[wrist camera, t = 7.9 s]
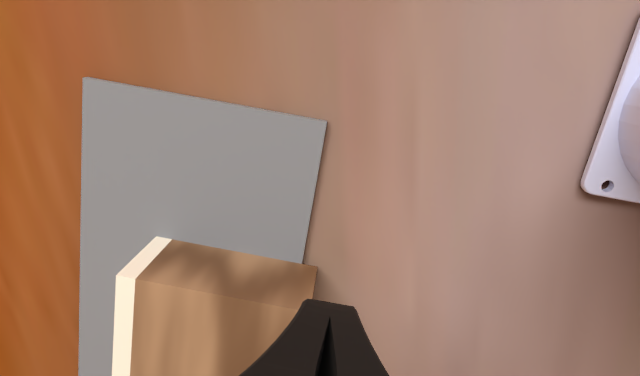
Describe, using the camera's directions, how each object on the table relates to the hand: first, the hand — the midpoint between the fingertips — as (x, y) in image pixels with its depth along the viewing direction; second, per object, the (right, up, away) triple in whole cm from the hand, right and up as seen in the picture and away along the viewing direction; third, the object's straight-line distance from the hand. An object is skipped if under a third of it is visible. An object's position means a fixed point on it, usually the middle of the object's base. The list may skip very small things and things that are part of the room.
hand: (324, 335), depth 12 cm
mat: (-7, -2, +12) cm, 14 cm away
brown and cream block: (-1, -3, +9) cm, 10 cm away
